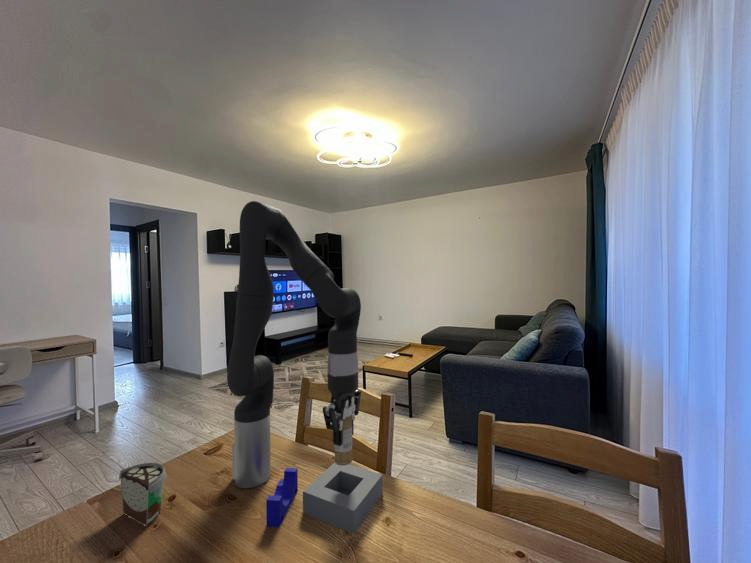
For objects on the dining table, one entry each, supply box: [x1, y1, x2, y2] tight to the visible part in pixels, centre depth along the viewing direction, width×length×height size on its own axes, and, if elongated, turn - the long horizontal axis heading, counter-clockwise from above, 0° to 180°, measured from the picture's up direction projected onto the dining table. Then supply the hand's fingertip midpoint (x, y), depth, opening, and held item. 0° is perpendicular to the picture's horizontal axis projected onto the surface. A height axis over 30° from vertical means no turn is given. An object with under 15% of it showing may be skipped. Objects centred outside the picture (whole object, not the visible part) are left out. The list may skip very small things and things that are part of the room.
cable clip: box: [265, 467, 299, 528], centre depth 75 cm, size 12×4×6 cm, turn 175°
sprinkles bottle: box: [333, 406, 354, 466], centre depth 76 cm, size 5×5×14 cm
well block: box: [302, 461, 384, 535], centre depth 76 cm, size 14×14×5 cm
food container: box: [118, 462, 167, 527], centre depth 74 cm, size 12×6×10 cm, turn 65°
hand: (343, 439), depth 76 cm, fingers closed on sprinkles bottle, 4 cm apart
